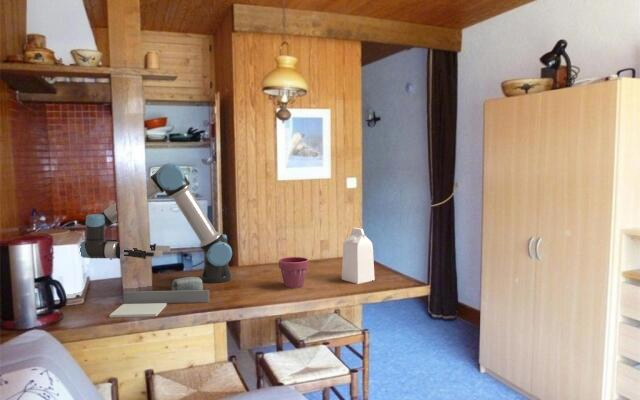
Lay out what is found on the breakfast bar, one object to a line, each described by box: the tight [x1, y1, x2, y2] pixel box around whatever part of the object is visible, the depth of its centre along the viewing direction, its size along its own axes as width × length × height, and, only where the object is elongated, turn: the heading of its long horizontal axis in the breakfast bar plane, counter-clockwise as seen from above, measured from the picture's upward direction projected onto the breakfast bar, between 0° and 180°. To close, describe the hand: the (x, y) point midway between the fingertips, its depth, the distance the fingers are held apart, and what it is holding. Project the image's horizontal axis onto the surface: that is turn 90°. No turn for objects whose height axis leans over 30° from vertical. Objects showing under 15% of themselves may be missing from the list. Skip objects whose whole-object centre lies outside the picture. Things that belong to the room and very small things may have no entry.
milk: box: [341, 227, 375, 285], centre depth 236 cm, size 12×12×26 cm
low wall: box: [123, 289, 210, 304], centre depth 202 cm, size 1×36×5 cm, turn 92°
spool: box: [171, 276, 204, 291], centre depth 214 cm, size 14×10×10 cm
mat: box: [109, 303, 168, 318], centre depth 191 cm, size 14×18×1 cm
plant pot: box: [278, 256, 309, 289], centre depth 227 cm, size 14×14×13 cm
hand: (166, 251), depth 212 cm, fingers open, 13 cm apart
